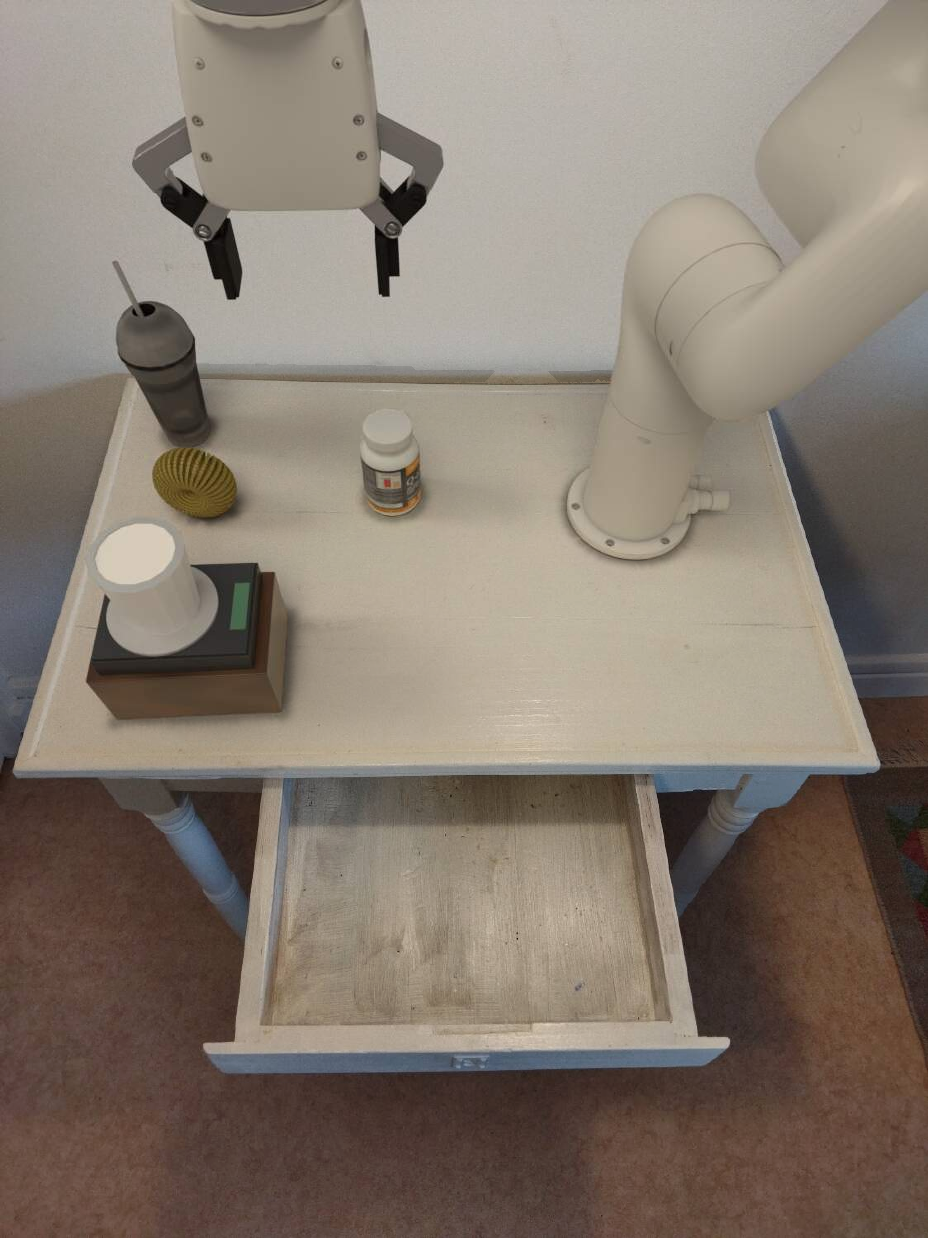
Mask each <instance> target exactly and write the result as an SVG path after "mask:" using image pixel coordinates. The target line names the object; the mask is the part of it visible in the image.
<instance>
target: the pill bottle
mask: <svg viewBox="0 0 928 1238" xmlns="http://www.w3.org/2000/svg"><path fill="white" fill-rule="evenodd" d="M359 446H360V447H359V456H360V457H359V458H360V463H361V471H362V481H363V487H364V494H365V495H364V496H365V498H366V503H367V504H368V506H370V508H371V509H372V510H373V511H375V512H376V513H378V514H380V515H383V516H390V517H396V516H401V515H405V514H407V513H409V512H411V511H412V510H414V508H415V507H416V506H417V505H418V504H419V502H420V499H421V495H422V493H421V491H422V487H421V486H422V485H421V462H420V461H421V457H420V456H421V455H420V444H419V441H418V439H417V437H416V435H415V434H414V425H413V422H412V419H411V418H410V417H409V416H408V414H406V413H405V412H403V411H401V410H398V409H394V408H381V409H378V410H375V411H373V412H371V413H370V414H369V415H368V416H366V417H365V419H364V421H363V423H362V441H361V442H360V445H359Z"/></svg>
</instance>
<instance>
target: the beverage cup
mask: <svg viewBox="0 0 928 1238" xmlns="http://www.w3.org/2000/svg"><path fill="white" fill-rule="evenodd" d="M111 264H112V266H113V268H114V270H115V272H116V275H117V276H118V279H119V281H120V283H121V286H122V287H123V289H124V291H125V293H126V295H127V298H128V300H129V301H130V303H131V305H130V306H128V307H127V308H126V309H125V310H124V311H123V312H122V314H121V316H120V317H119V319H118V321H117V324H116V330H115V343H116V348H117V355H118V357H119V359H120V361H121V362H122V363H123V364H124V365H125V368H126V369H127V370H128V371H129V373H130V374H131V375H132V376H133V377H134V379H135V381H136V382H137V385H138V386H139V388H140V390H141V392H142V394H143V396H144V398H145V399H146V401H147V403H148V405H149V407H150V409H151V411H152V413H153V414H154V416H155V418H156V420H157V422H158V424H159V426H160V427H161V430H162V432H163V433H164V434H165V435H166V437H167V439H168V441H169V443H170V444H172V445H173V446H175V447H176V448H182V447H188V448H195V447H197V446H199V445H201V444H202V443H204V442H205V441H206V440H207V439H208V438H209V435H210V433H211V428H210V425H209V414H208V411H207V407H206V406H207V405H206V401H205V397H204V392H203V388H202V381H201V378H200V373H199V368H198V364H197V351H196V337H195V335H194V334H193V332H192V330H191V329H190V327H189V325H188V323H187V322H186V320H185V318H184V317H183V316H182V315H181V314H180V313H179V312H178V311H176V310H175V309H174V308H172V307H171V306H169V305H168V304H165V303H162V302H159V301H155V300H154V301H153V300H144V301H139V302H138V300H137V299H136V296H135V294H134V292H133V290H132V288H131V286H130V284H129V282H128V280H127V277H126V276H125V273H124V271H123V270H122V267H121V264H120V263H119V261H118V260H113V261H112V262H111Z"/></svg>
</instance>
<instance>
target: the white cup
mask: <svg viewBox="0 0 928 1238" xmlns="http://www.w3.org/2000/svg"><path fill="white" fill-rule="evenodd" d="M85 563H86V564H85V565H86V570H87V575H88V576H89V577H90V578H91V580H92V581H93V582H94V583H95V585H96V586H97V587H99V589H100V590H101V591H102V592H103V593H104V595H105V594H106V596H107V597H108V598H109V599H110V600H111V601H112V602H113V604H114V605H115V606H116V607H117V608H118V609H119V611H120V612H121V613H122V614H123V615H124V616H125V618H126V619H127V620H128V621H129V622H130V623H131V624H132V625H133V627H134V628H135V629H136V630H137V631H139V632H141V633H144V634H146V635H149V636H165V635H168V634H172V633H175V632H178V631H180V630H181V629H182V628H184V627H185V626H187V625H188V624H190V623H191V621H192V620H193V618H194V617H195V616H196V614H197V613H198V609H199V605H200V598H199V594H198V590H197V587H196V584H195V580H194V577H193V573H192V570H191V566H190V565H191V563H190V560H189V557H188V552H187V549H186V546H185V543H184V539H183V536H182V533H181V532H180V531H179V529H177V528H176V527H175V526H174V525H173V524H172V523H171V522H169V521H167V520H164V519H161V518H159V517H155V516H135V517H131V518H126V519H124V520H123V519H122V520H120V521H117V522H116V523H114V524H112V525H111V526H109V527H107V528H106V529H104V530H103V531H101V532H100V533H99V535H98V536H97V537H96V538H95V539H94V541H92V543H91V544H90V545H89V548H88V552H87V555H86V557H85Z"/></svg>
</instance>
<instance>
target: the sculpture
mask: <svg viewBox="0 0 928 1238" xmlns="http://www.w3.org/2000/svg"><path fill="white" fill-rule="evenodd" d="M151 472H152V473H151V479H152V484H153V486H154V490H156V492H157V495H158V496H159V497H160V498H161V499H162V500H163V501H164V503H166V504H167V505H169V506H170V507H171V508H173V509H174V510H176V511H178V512H180V513H182V514H185V515H187V516H190V517H193V518H195V517H196V518H203V519H204V518H208V519H209V518H214V517H218V516H220V515H223V514H225V513H226V512H227V511H229V509H231V507H232V506H233V505H234V503H235V501H236V499H237V495H238V486H237V485H238V484H237V480H236V478H235V475H234V473H233V472H232V471H231V469H230V468H229V466H227V465H226V463H225V462H223V461H222V459H220V458H217V456H216V455H213V454H211V453H210V452H206V450H201V449H199V448H194V447H189V448H188V447H176V448H175V447H174V448H171V449H169V450H167V451H165V452H163V453H162V454H161V455H160V456H159V457H158V458H157V460H156V461H155V462H154V463H153V468H152V471H151Z"/></svg>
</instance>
